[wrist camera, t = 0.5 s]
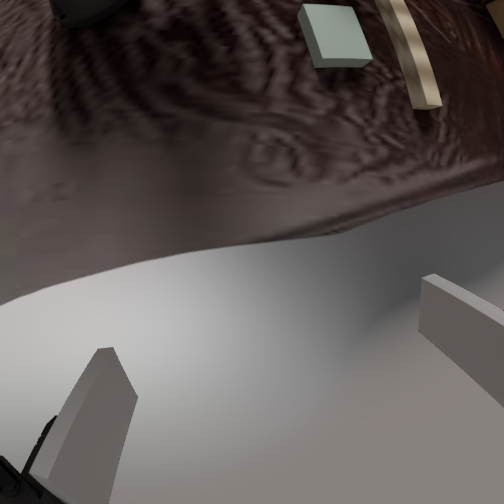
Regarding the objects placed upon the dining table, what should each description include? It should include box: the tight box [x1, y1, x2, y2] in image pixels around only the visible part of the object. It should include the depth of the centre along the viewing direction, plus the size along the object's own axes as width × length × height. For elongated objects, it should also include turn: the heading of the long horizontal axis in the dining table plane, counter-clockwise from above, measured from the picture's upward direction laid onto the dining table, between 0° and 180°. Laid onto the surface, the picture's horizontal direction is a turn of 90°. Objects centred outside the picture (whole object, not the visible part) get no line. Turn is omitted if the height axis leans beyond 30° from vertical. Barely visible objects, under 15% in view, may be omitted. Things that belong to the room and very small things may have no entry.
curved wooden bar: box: [374, 0, 442, 110], centre depth 31 cm, size 24×4×4 cm, turn 11°
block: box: [297, 4, 372, 68], centre depth 31 cm, size 10×8×4 cm
